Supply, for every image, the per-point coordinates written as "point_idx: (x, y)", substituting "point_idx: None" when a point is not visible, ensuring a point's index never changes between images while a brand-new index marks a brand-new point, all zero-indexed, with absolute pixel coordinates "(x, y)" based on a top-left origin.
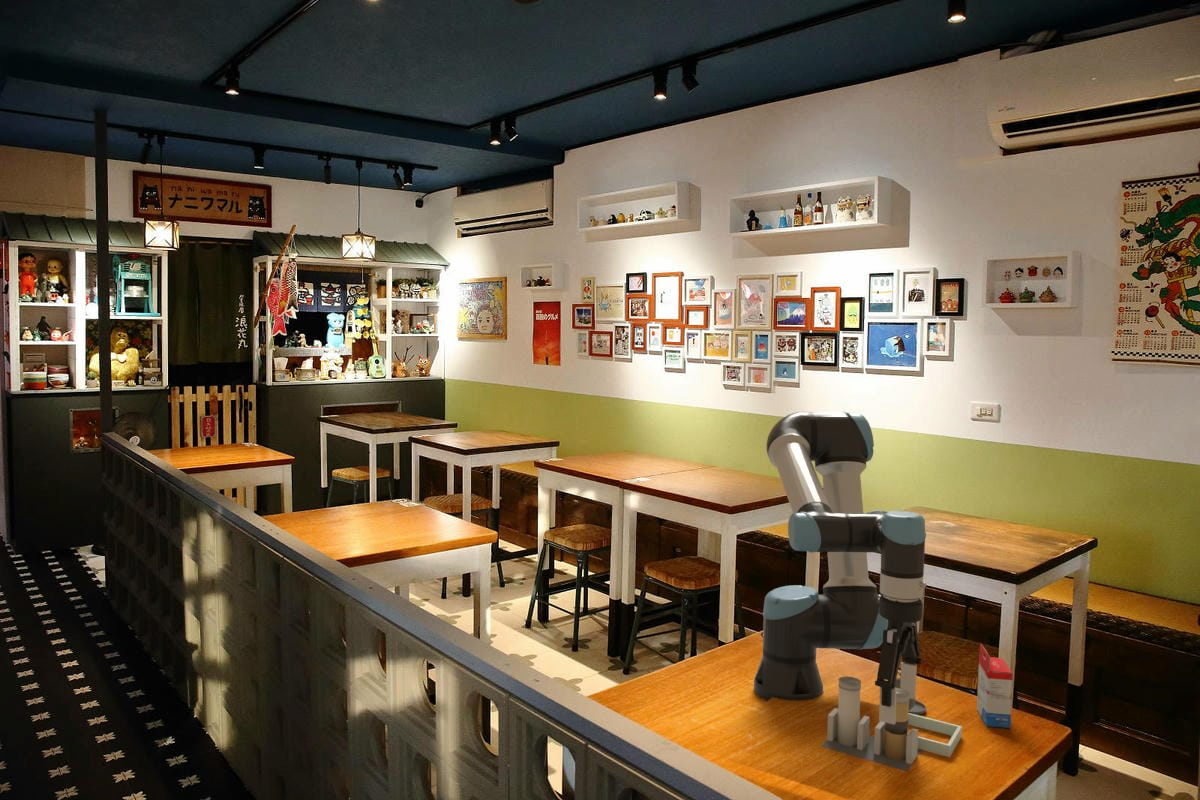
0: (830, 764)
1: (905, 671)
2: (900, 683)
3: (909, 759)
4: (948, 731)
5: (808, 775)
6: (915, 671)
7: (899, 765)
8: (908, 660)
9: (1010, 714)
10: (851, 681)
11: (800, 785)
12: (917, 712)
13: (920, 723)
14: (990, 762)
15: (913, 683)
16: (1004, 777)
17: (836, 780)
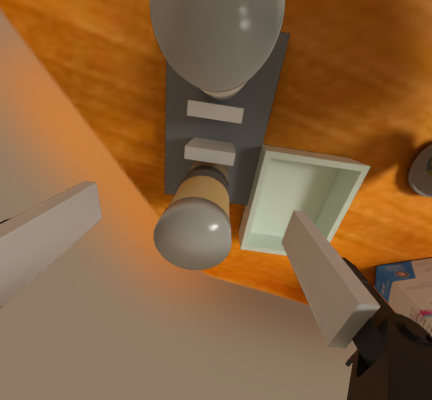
0: (141, 56)
1: (327, 284)
2: (308, 233)
3: None
4: None
5: (70, 19)
6: (316, 319)
7: (175, 181)
8: (373, 343)
9: (388, 303)
10: (206, 27)
11: (23, 13)
12: (411, 184)
13: (336, 200)
14: (266, 267)
15: (297, 273)
16: (234, 277)
17: (93, 83)
